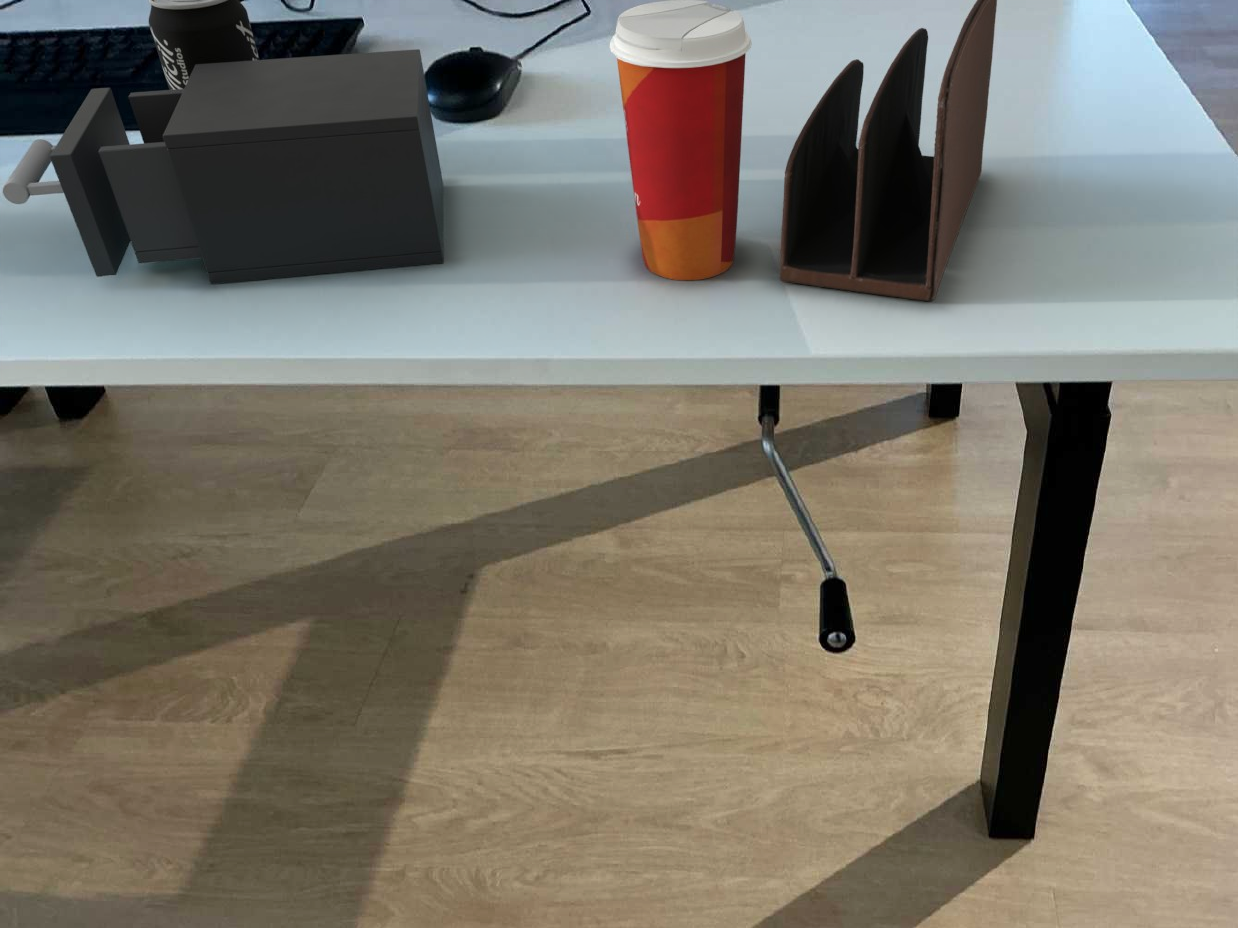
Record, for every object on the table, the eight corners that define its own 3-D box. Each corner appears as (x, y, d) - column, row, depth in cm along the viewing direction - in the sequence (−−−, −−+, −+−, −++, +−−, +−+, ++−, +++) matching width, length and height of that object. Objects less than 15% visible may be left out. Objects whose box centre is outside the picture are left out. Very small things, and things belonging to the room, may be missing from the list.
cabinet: (210, 284, 76) (162, 135, 70) (235, 201, 86) (195, 64, 79) (443, 263, 78) (417, 116, 72) (443, 184, 88) (419, 48, 81)
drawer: (24, 283, 75) (-28, 161, 70) (67, 206, 83) (23, 93, 78) (318, 257, 77) (287, 137, 72) (330, 185, 86) (303, 73, 80)
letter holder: (980, 177, 88) (1007, -30, 79) (933, 306, 73) (959, 70, 64) (847, 162, 90) (858, -41, 81) (776, 284, 76) (780, 53, 67)
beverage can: (268, 178, 89) (222, 6, 81) (180, 178, 89) (125, 7, 81) (294, 143, 94) (253, -21, 86) (211, 143, 94) (162, -21, 86)
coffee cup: (692, 220, 83) (684, -12, 73) (777, 258, 78) (781, 17, 69) (598, 260, 78) (576, 18, 69) (683, 303, 74) (672, 52, 64)
